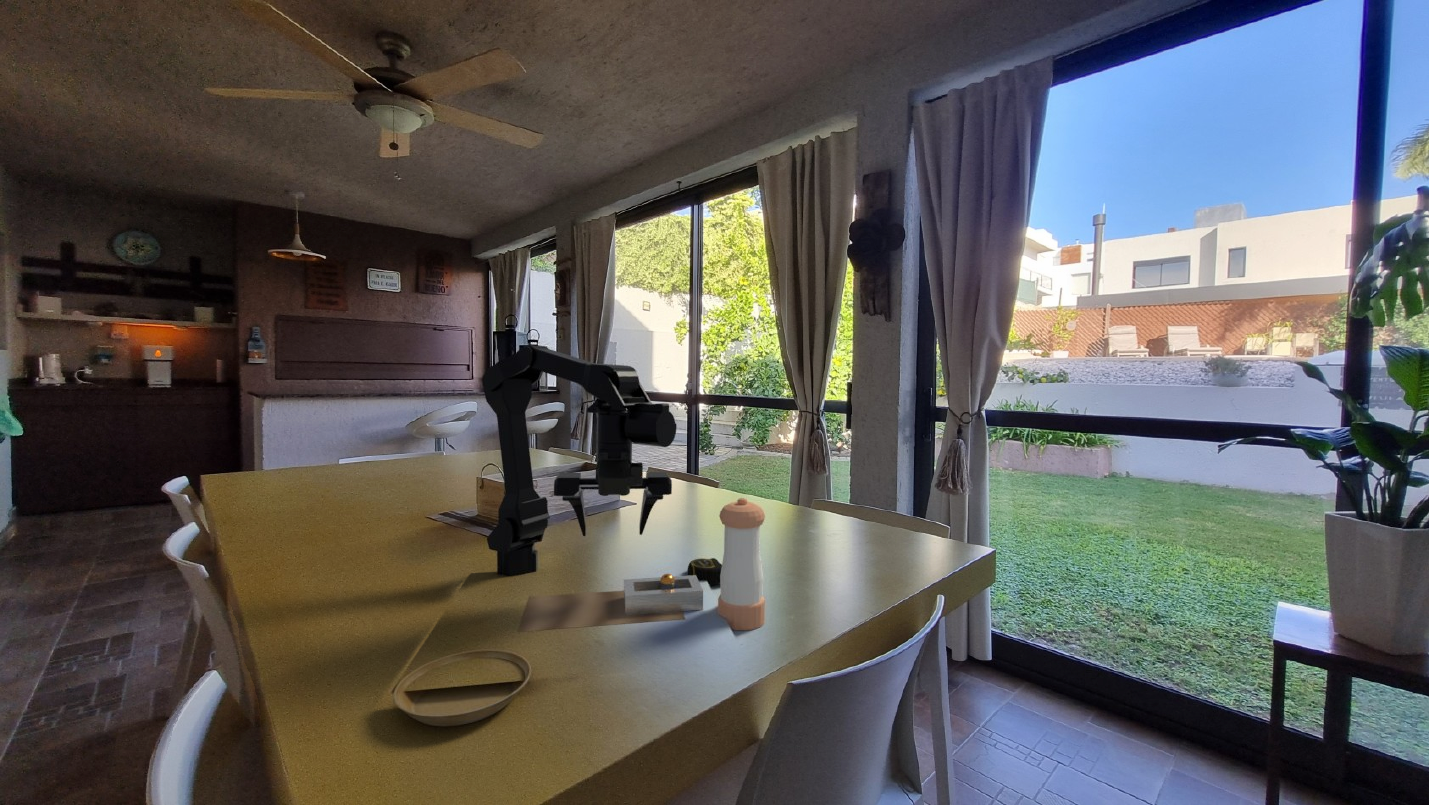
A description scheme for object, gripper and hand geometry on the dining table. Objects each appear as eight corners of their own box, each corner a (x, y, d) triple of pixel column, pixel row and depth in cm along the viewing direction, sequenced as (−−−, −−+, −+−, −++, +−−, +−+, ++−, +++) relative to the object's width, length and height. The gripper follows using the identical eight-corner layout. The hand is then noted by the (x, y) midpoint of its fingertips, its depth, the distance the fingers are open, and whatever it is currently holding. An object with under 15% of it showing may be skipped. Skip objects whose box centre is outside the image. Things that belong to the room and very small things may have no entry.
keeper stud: (660, 606, 90) (660, 577, 90) (659, 600, 93) (659, 572, 92) (675, 605, 91) (675, 576, 91) (673, 599, 93) (673, 571, 93)
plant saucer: (385, 692, 69) (385, 671, 69) (510, 657, 78) (510, 638, 77) (404, 759, 57) (404, 733, 57) (549, 708, 66) (549, 686, 66)
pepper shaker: (757, 633, 84) (758, 505, 83) (711, 626, 87) (712, 501, 86) (769, 614, 91) (771, 495, 90) (726, 607, 94) (727, 492, 93)
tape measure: (729, 587, 103) (729, 566, 103) (693, 591, 101) (693, 570, 101) (717, 574, 110) (718, 555, 110) (683, 578, 108) (683, 558, 107)
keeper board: (517, 642, 81) (517, 631, 81) (529, 605, 94) (529, 596, 94) (685, 628, 86) (685, 619, 86) (674, 595, 99) (674, 587, 98)
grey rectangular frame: (625, 615, 87) (625, 595, 87) (623, 597, 94) (623, 579, 94) (702, 609, 89) (703, 590, 89) (695, 592, 96) (695, 575, 96)
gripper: (550, 448, 84) (549, 552, 85) (676, 448, 88) (674, 548, 89) (557, 438, 95) (556, 531, 96) (669, 439, 99) (667, 528, 100)
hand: (612, 534), depth 95 cm, fingers open, 9 cm apart
